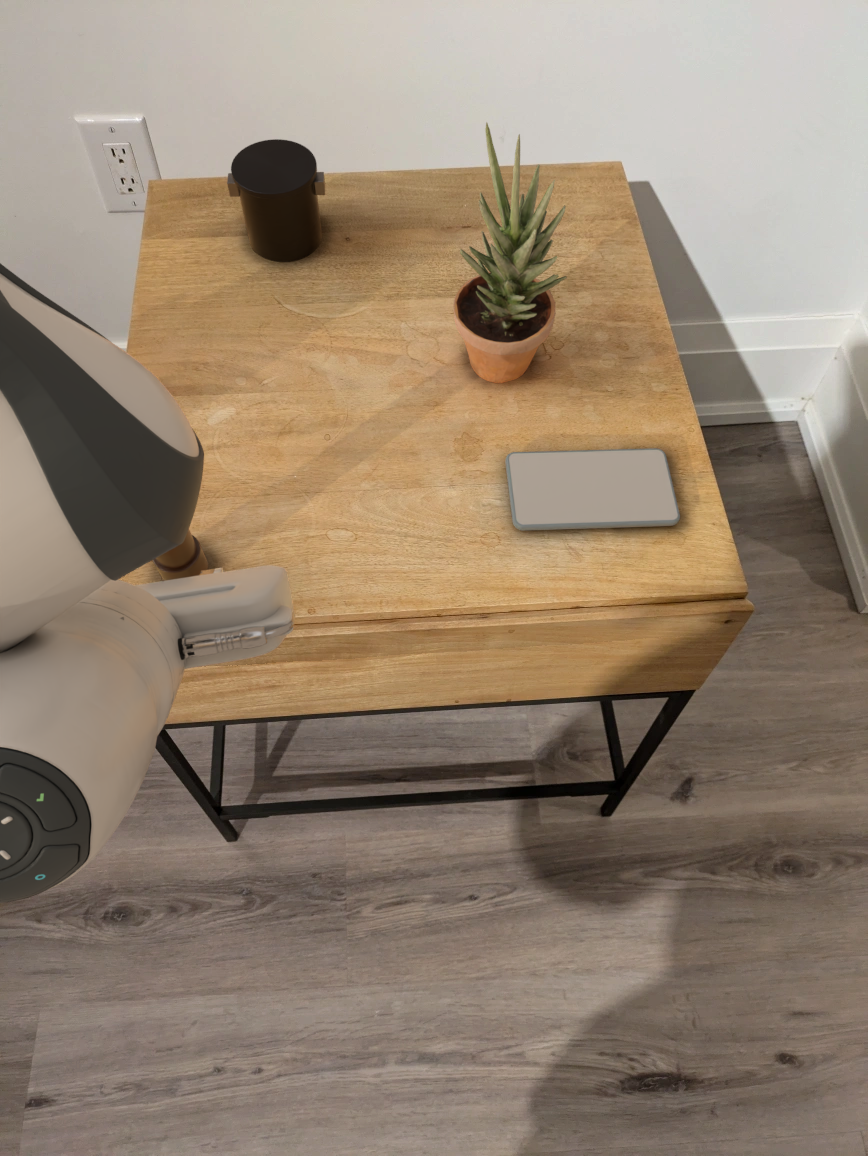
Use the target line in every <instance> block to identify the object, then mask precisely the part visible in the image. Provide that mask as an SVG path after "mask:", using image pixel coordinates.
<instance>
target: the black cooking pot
mask: <svg viewBox="0 0 868 1156" xmlns="http://www.w3.org/2000/svg"><path fill="white" fill-rule="evenodd" d="M226 185H227V189H228V194H229V197H230V198H233V197H237V198H239V200H240V205H241V209H242V214H243V219H244V223H245V228H246V233H247V238H248V242H249V245H250V248H251V249H252V250H253V251H254V253H256V255H258V256H259V257H261V258H263V259H265V260H268V261H271V262H272V261H273V262H278V263H288V262H289V263H290V262H295V261H298V260H302V259H305V258H306V257H308V256H310V255H312V254H313V253H314V252H315V251H316V250H317V249H318V248H319V246H320V245H321V243H322V240H323V230H322V229H323V228H322V221H321V214H320V204H319V197H318V196H325V195H326V180H325V172H324V171H318V164H317V160H316V157H315V154H313V152H312V151H311V150H310V149H309V148H308V147H306V146H305V145H303V144H301V143H298V142H296V141H292V140H288V139H281V138H280V139H277V138H276V139H275V138H274V139H265V140H260V141H257V142H254V143H252V144H251V143H250V144H249V145H247V146H245V147H244V148H242V149H241V150H240V151H239V152H238V153H237V154H236V155H235V156H234V158H233V160H232V162H231V166H230V172H229V173H227V179H226Z"/></svg>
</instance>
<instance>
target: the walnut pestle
mask: <svg viewBox="0 0 868 1156" xmlns="http://www.w3.org/2000/svg"><path fill="white" fill-rule="evenodd" d="M152 562H153V564H154V567H155V568H156V570H157V572H158V573H159V575H160V577H161V579H162V581H165V580H172V579H178V578H185V577H192V576H198V575H199V574H200V573H201V571H203V570H209V563H208V560H207V557H206V555H205V552H204V550H203V548H202V546H201V544H200V541H199V540H198V538H197V537H196V536H194V535H193V534H192V532H191V530H190V529H189V530H188V532H187V535H186V537H185V540H184V542H183V543H182V544H180V545H178V546H177V547H175V548H173V549H171V550H170V551H168V552H166V553H164V554H162V555H161V556H159V557H157V558H155V559H153V560H152Z"/></svg>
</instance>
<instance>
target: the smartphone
mask: <svg viewBox="0 0 868 1156" xmlns="http://www.w3.org/2000/svg"><path fill="white" fill-rule="evenodd" d="M504 461H505V462H504V463H505V470H506V479H507V486H508V495H509V504H510V512H511V523H512V525H513V527H514V528H515V529H517V530H519V531H548V530H549V531H550V530H554V531H555V530H580V529H581V530H582V529H583V530H584V529H612V528H614V529H615V528H617V529H618V528H642V527H643V528H644V527H645V528H647V527H673V526H675V525H677V524H678V523H679V521H680V519H681V514H680V513H681V512H680V509H679V504H678V501H677V500H678V499H677V496H676V492H675V487H674V484H673V480H672V475H671V470H670V465H669V462H668V458H667V454H666V453H665V451H664V450H663V449H660V448H656V447H655V448H654V447H649V448H619V449H618V448H617V449H612V448H611V449H579V450H575V449H574V450H543V451H541V450H540V451H539V450H538V451H536V450H535V451H512V452H510V453H508V454H507V455H506V456H505V460H504Z"/></svg>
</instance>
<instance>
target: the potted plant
mask: <svg viewBox="0 0 868 1156" xmlns="http://www.w3.org/2000/svg"><path fill="white" fill-rule="evenodd" d="M484 131H485V140H486V149H487V156H488V157H487V158H488V163H489V169H490V175H491V180H492V186H493V190H494V195H495V199H496V203H497V209H498V212H499V216H500V217H499V218H500V221H501V224H499V222H498V221H497V220H496V218H495V216H494V214H493V213H492V211H491V209H490V206H489V204H488V203H487V201H486V199H485V196H484V195H483V193H482V191H480V192H479V198H480V199H479V200H478V207H479V210H480V214H481V217H482V219H483V222H484V223H485V225H486V227H487V230H488V232H489V235H490V237H491V239H492V242H493V244H492V243H489V241H488V239H487V237H486V234H485V232H484V230H482V231H481V239H482V243H483V246H484V250H485V253H486V254H484V253H482V252H480V251H479V250H477V249H476V248H474V247H473V246H470V245H469V246H468V248H469V250H470V253H471V254H472V255H473V256H474V257H475V258H476V259H477V261H476V260H475V259H474V258H473V257H472V256H471V255H470V254H469V253H467V252H466V251H465V250H464V249H462V248H459V254H460V256H461V257H462V258H463V259H464V260H465V261H466V263H467V264H468V265H469V266H470V267H471V268H472V269H473V270H474V271H475V272H476V273H477V274H478V275H475V276H474V277H471V278H469V279H468V280H466V281H465V282H464V283H463V284H462V285H461V286H460V287H459V289H458V290H457V292H456V293H455V295H454V299H453V318H454V325H455V327H456V330H457V332H458V334H459V336H460V337H461V338H462V339H463V342H464V345H465V348H466V351H467V355H468V359H469V363H470V366H471V368H472V370H473V371H474V373H475V374H476V375H477V376H478V377H479V378H481V379H482V380H484V381H487V382H488V383H489V382H490V383H495V384H503V383H507V382H511V381H515V380H517V379H519V378H520V377H522V376H523V375H524V373H526V371H527V370H528V369H529V366H530V364H531V362H532V361H533V359H534V357H535V355H536V353H537V351H538V349H539V347H540V346H541V345H542V344H543V343H544V342H545V341H546V340H547V338H548V337H549V336H550V334H551V332H552V330H553V326H554V322H555V318H556V312H557V311H556V307H557V306H556V300H555V298H554V296H553V293H552V291H551V289H552V288H554V287H556V286H557V285H559V284H560V283H561V282H563V281H565V280H566V279H567V278H568V277H567V276H565V275H564V276H562V277H560V275H559V274H555V273H554V274H552V275H550V276H549V277H547V278H545V279H543V280H540V279H538V277H539V276H541V275H542V274H543V273H545V272H546V271H547V270H548V269H549V268H550V267H552V266H553V264H555V262H556V261H557V260H558V256H557V255H555V256H553V257H552V258H548V259H545V258H546V256H547V254H548V253H549V251H550V248H551V247H552V244H553V242H554V240H553V239H552V237H553V234H554V233H555V230H556V229H557V228H558V226H559V225H560V223H561V221H562V219H563V217H564V215H565V212H566V205H563V206H562V208H561V209H560V210H559V211H558V213H557V215H556V216H555V217H554V218H553V219H552V221H551V222H550V223H549V224H548V225H547V226H546V227H545V228H544V229H543V227H544V225H545V220H546V216H547V213H548V211H547V208H548V207H549V203H550V201H551V197H552V195H553V191H554V188H555V182H556V180H555V179H553V181H551V183H550V184H549V186H548V187H547V189H546V191H545V192H544V194H543V196H542V198H541V200H540V202H539V203H538V205H537V207H536V203H537V197H538V189H539V183H540V164H537V165H536V168H535V171H534V173H533V176H532V179H531V181H530V184H529V187H528V190H527V192H526V195H525V194H524V193H522V194H521V196H520V186H521V185H520V183H521V181H520V180H521V134H520V133H519V134H518V135H517V139H516V144H515V145H516V146H515V152H514V163H513V167H512V168H513V169H512V185H511V195H510V196H511V197H510V198H511V199H510V200H511V201H510V202H509V198H508V195H507V193H506V192H507V191H506V187H505V183H504V180H503V176H502V172H501V167H500V164H499V160H498V157H497V153H496V149H495V146H494V142H493V137H492V134H491V129H490V127H489V123H488V122H487V121H486V123H485V128H484ZM544 259H545V260H544Z"/></svg>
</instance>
